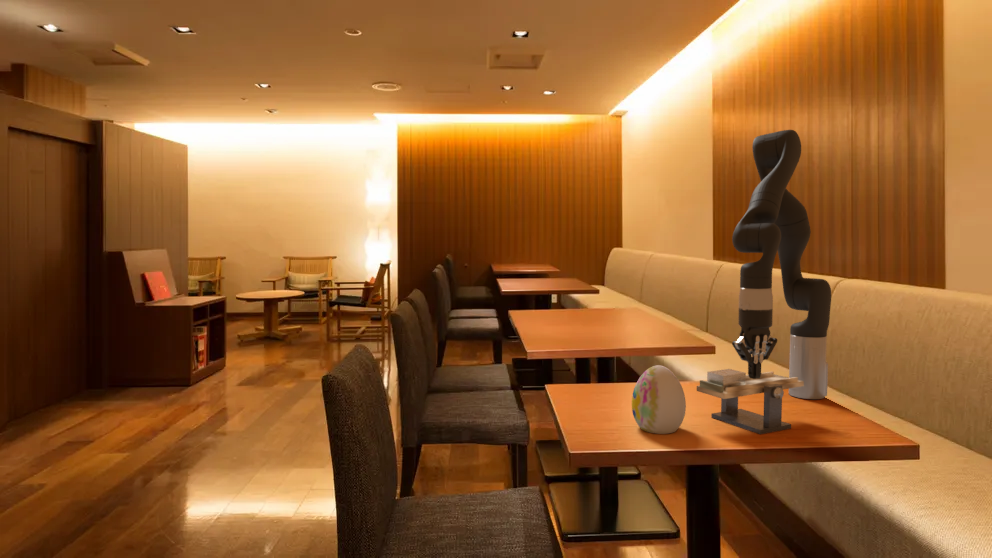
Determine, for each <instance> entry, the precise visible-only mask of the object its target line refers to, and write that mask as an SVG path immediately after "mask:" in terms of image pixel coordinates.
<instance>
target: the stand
mask: <svg viewBox="0 0 992 558" xmlns="http://www.w3.org/2000/svg"><path fill="white" fill-rule="evenodd" d="M784 393H785V392H784V389H782V385H779V384H772V385H765V386H764V393H763V414H759V413H756V412H753V411H749V410H746V409H742V408H739V397H734V398H728V399H722V398H720V399H721V400H720V401H721V403H720V404H721V405H720V407H721V408H720V411H718V412H712V413H711V418H712V419H715V420H717V421H720V422H723V423H726V424H729V425H733V426H735V427H738V428H740V429H744V430H747V431H750V432H752V433H756V434H758V435H763V434H768V433H769V434H770V433H775V432H779V431H783V430H784V431H785V430H789V429H792V424H791V423H789V422H784V421H783V420H782V415H783V414H782V413H783V397H784Z"/></svg>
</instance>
